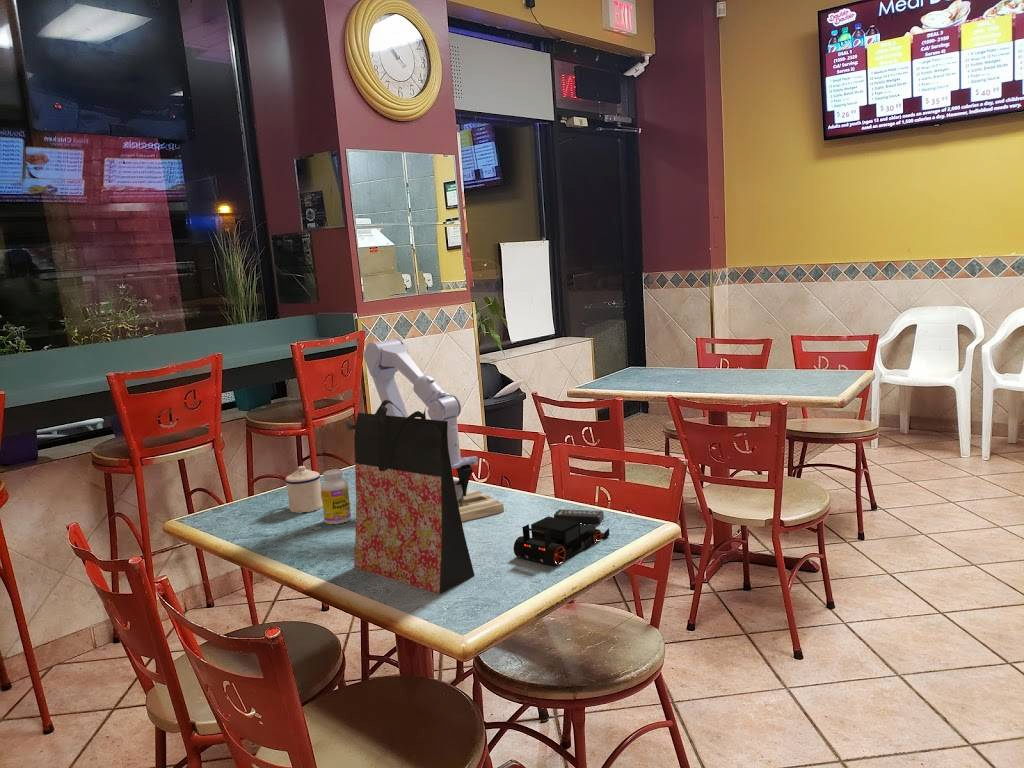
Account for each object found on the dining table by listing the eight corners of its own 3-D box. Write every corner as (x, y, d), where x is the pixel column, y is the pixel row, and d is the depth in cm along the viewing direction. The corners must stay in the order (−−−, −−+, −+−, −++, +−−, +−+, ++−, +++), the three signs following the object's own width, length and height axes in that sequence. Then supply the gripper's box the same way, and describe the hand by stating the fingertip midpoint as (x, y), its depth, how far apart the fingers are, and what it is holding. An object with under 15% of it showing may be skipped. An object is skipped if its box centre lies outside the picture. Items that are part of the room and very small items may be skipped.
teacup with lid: (330, 505, 206) (325, 464, 204) (303, 516, 199) (297, 472, 197) (303, 500, 213) (298, 460, 212) (276, 509, 207) (270, 468, 205)
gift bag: (484, 570, 153) (468, 399, 147) (433, 597, 142) (414, 413, 137) (389, 545, 172) (372, 392, 167) (337, 567, 161) (317, 405, 156)
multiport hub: (599, 526, 174) (599, 517, 173) (553, 524, 177) (553, 515, 177) (604, 520, 178) (603, 510, 177) (559, 518, 182) (558, 509, 181)
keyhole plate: (424, 508, 196) (423, 501, 196) (477, 496, 203) (476, 489, 203) (448, 525, 182) (447, 517, 182) (504, 511, 189) (503, 503, 188)
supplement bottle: (332, 527, 188) (326, 476, 186) (320, 522, 193) (313, 472, 191) (356, 519, 192) (350, 470, 190) (343, 514, 197) (337, 466, 195)
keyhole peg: (441, 509, 192) (438, 483, 191) (458, 505, 194) (456, 479, 193) (450, 514, 188) (447, 487, 187) (468, 509, 190) (465, 483, 189)
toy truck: (610, 538, 166) (608, 506, 165) (553, 570, 151) (550, 535, 150) (571, 530, 173) (569, 499, 172) (513, 560, 158) (510, 526, 157)
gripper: (426, 452, 182) (431, 507, 184) (481, 442, 188) (485, 495, 190) (416, 447, 188) (421, 500, 190) (469, 437, 195) (474, 489, 197)
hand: (453, 497), depth 191 cm, fingers closed on keyhole peg, 5 cm apart
